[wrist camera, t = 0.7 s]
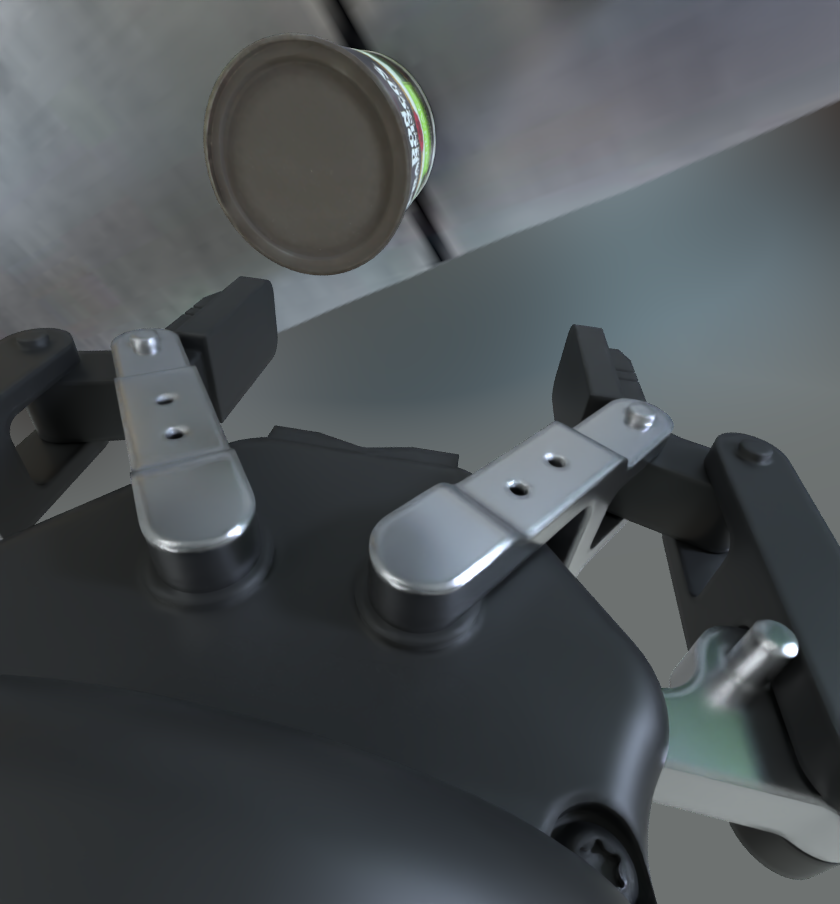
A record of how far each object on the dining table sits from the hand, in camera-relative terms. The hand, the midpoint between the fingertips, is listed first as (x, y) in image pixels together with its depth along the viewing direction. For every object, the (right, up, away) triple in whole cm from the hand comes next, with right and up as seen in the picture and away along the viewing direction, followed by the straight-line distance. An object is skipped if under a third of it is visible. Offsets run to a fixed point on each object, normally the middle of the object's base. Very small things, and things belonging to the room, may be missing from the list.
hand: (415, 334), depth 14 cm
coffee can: (-4, +19, +23) cm, 30 cm away
